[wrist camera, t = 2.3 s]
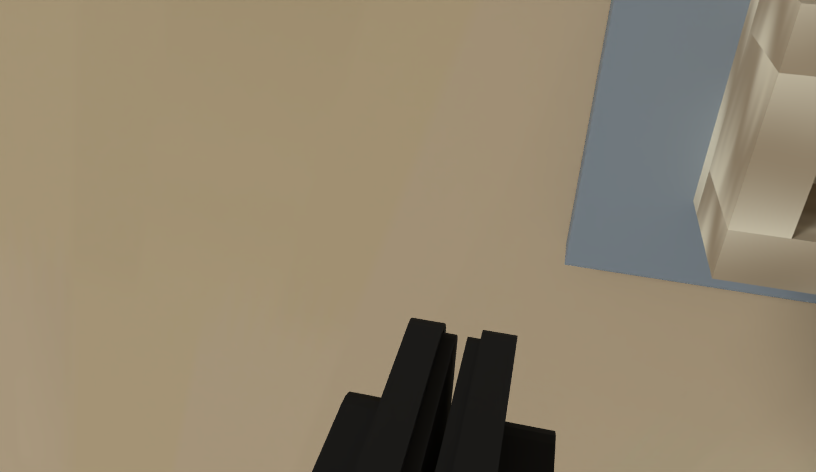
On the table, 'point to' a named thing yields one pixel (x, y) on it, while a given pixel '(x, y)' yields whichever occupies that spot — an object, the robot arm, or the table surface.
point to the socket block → (765, 155)
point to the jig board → (655, 141)
